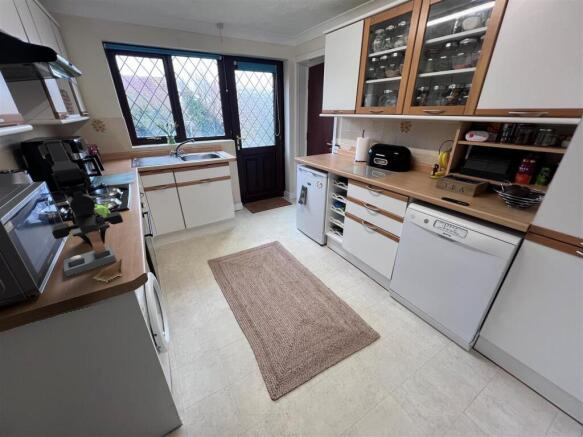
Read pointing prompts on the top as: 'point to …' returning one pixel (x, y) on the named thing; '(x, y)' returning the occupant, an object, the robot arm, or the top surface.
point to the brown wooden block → (96, 241)
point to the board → (88, 261)
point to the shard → (110, 271)
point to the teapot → (102, 209)
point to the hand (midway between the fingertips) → (98, 245)
